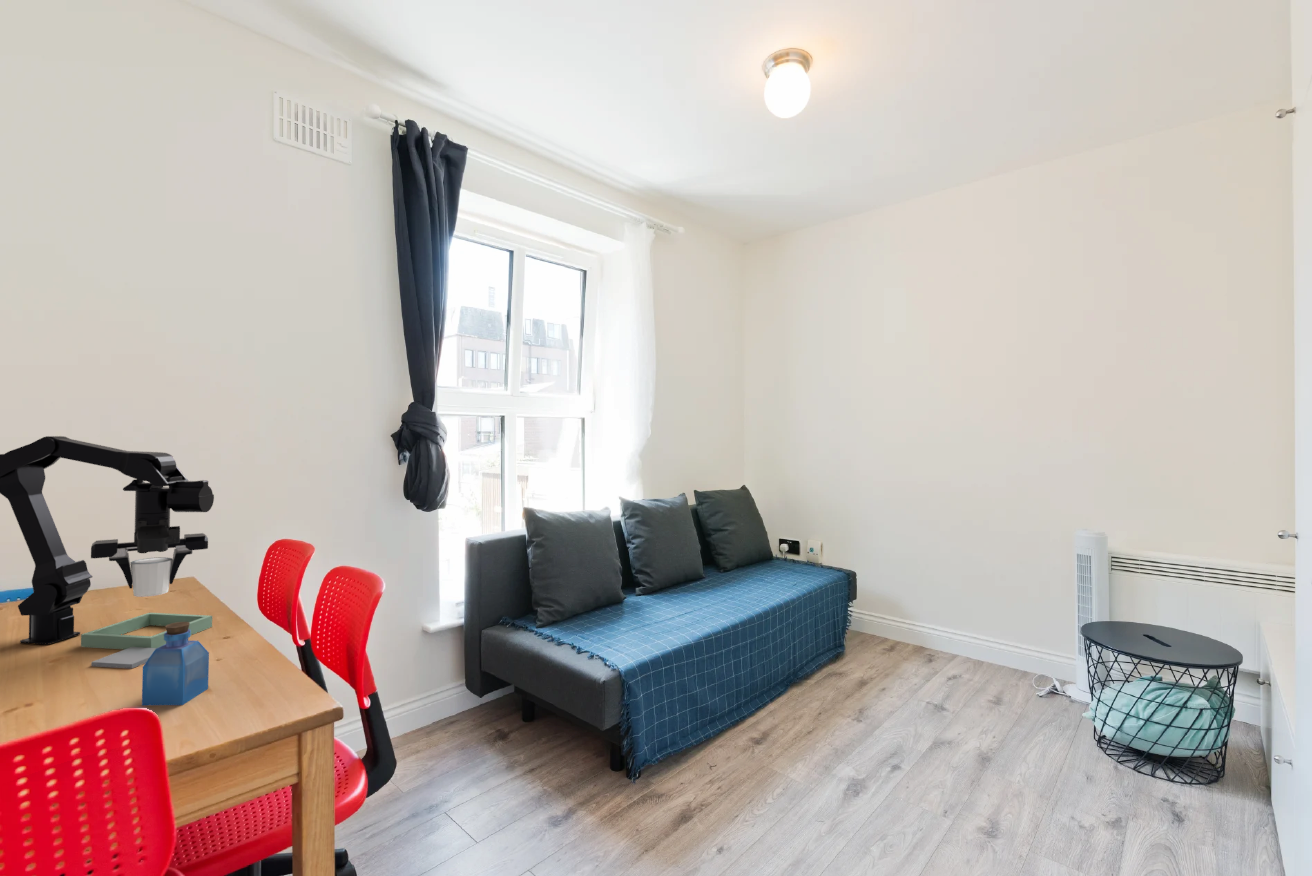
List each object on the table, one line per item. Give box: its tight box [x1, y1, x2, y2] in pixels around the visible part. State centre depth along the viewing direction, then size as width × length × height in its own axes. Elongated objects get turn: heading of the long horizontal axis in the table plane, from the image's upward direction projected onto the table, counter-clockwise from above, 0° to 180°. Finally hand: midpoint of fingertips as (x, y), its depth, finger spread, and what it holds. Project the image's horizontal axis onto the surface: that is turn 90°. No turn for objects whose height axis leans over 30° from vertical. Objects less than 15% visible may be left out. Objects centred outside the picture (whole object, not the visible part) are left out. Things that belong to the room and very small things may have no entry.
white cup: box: [130, 557, 173, 598], centre depth 127 cm, size 7×7×7 cm
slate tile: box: [90, 647, 157, 669], centre depth 115 cm, size 8×8×1 cm
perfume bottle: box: [141, 622, 210, 706], centre depth 100 cm, size 6×6×12 cm
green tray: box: [80, 612, 213, 650], centre depth 128 cm, size 15×15×2 cm
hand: (151, 585), depth 127 cm, fingers closed on white cup, 6 cm apart
